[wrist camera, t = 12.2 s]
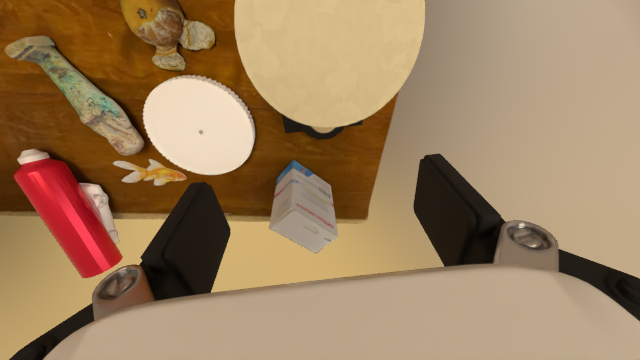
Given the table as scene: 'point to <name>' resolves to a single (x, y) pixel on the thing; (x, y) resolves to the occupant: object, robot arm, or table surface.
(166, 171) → the fish
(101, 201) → the toy car
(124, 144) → the figurine
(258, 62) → the lamp
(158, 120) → the plastic lid
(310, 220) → the ink box
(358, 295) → the robot arm
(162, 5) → the fruit
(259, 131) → the table surface
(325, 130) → the lamp button
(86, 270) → the bottle
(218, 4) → the table surface
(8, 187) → the table surface
